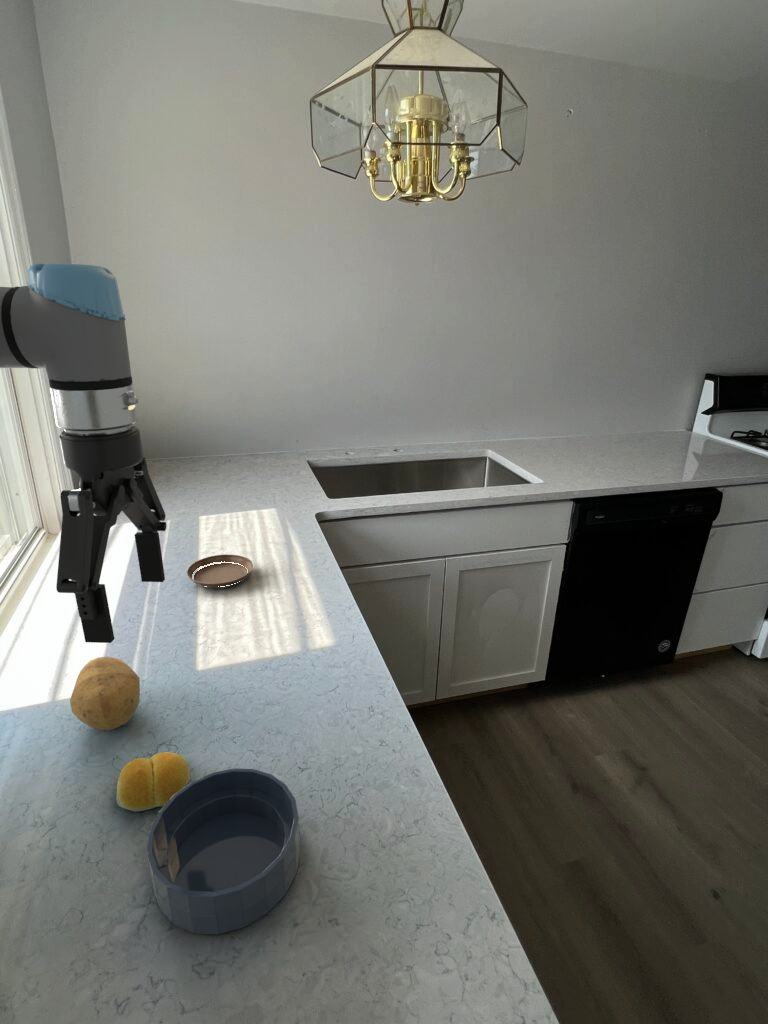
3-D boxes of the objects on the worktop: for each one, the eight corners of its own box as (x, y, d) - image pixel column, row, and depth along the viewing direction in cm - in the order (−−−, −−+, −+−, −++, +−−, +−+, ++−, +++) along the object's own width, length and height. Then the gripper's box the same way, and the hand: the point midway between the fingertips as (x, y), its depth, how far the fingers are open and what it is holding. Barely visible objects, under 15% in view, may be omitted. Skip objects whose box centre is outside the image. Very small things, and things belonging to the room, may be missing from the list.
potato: (77, 759, 78) (66, 713, 75) (73, 700, 89) (64, 658, 87) (151, 735, 82) (144, 691, 80) (139, 682, 94) (132, 642, 91)
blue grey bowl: (128, 934, 57) (119, 893, 54) (185, 802, 72) (180, 766, 69) (285, 940, 56) (282, 899, 54) (309, 806, 71) (307, 770, 69)
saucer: (230, 598, 121) (229, 587, 120) (174, 586, 125) (172, 576, 125) (265, 569, 134) (264, 559, 133) (213, 560, 139) (212, 550, 138)
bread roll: (192, 801, 72) (189, 777, 70) (116, 822, 69) (111, 798, 67) (188, 755, 79) (185, 733, 78) (119, 773, 76) (115, 750, 74)
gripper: (68, 459, 46) (109, 675, 53) (180, 407, 69) (197, 562, 76) (-22, 457, 46) (31, 673, 53) (120, 406, 69) (143, 560, 77)
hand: (129, 608), depth 65 cm, fingers open, 13 cm apart
